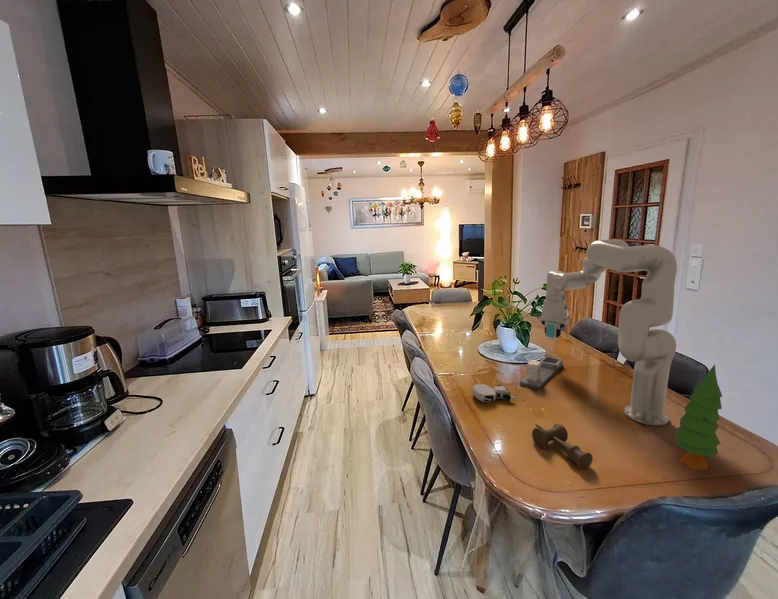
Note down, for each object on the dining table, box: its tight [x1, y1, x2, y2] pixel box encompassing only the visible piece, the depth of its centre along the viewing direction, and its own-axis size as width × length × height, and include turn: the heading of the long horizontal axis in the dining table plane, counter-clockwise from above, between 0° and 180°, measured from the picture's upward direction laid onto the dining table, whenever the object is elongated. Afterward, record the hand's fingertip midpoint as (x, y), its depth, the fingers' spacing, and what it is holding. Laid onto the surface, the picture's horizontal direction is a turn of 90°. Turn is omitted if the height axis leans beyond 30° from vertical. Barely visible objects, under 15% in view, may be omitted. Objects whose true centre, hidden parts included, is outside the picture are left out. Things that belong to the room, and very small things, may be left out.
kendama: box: [531, 423, 594, 471], centre depth 107 cm, size 6×10×20 cm
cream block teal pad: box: [545, 322, 558, 341], centre depth 164 cm, size 4×6×8 cm
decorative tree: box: [674, 364, 723, 471], centre depth 96 cm, size 10×9×30 cm
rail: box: [519, 355, 564, 391], centre depth 159 cm, size 32×8×10 cm, turn 138°
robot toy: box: [469, 383, 515, 403], centre depth 140 cm, size 12×4×15 cm
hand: (552, 335), depth 165 cm, fingers closed on cream block teal pad, 4 cm apart
